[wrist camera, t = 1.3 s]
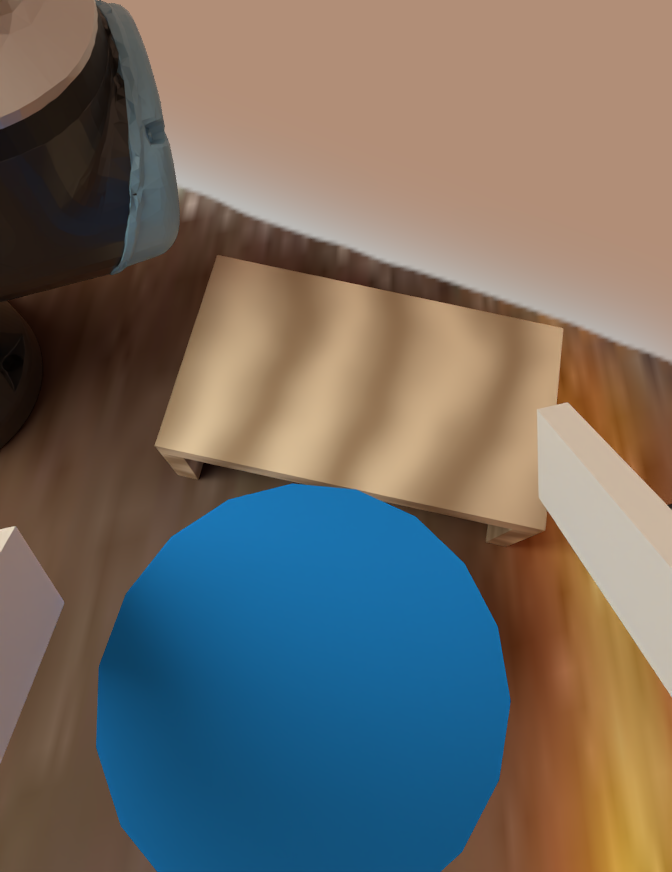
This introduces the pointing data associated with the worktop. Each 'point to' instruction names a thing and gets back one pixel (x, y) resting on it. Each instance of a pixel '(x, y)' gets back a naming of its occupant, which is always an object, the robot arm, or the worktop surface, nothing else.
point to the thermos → (302, 692)
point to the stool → (366, 395)
